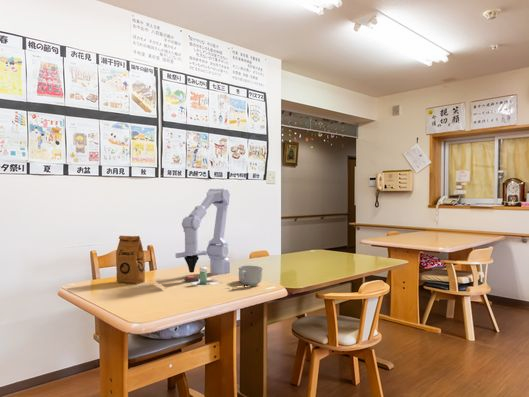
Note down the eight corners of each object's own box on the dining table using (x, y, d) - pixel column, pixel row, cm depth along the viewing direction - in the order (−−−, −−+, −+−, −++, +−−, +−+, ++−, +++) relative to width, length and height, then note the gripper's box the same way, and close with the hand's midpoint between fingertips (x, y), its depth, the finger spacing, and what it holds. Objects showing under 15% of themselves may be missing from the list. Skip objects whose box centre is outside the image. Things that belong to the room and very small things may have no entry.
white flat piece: (209, 279, 187) (209, 273, 187) (224, 285, 174) (224, 279, 174) (183, 283, 179) (183, 277, 179) (197, 289, 167) (197, 283, 167)
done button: (193, 279, 180) (193, 275, 180) (195, 280, 178) (195, 276, 178) (187, 280, 179) (187, 276, 179) (189, 281, 176) (189, 277, 176)
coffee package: (135, 285, 176) (134, 237, 175) (113, 283, 180) (112, 236, 180) (148, 281, 185) (148, 234, 185) (127, 279, 189) (127, 234, 189)
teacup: (248, 281, 184) (248, 264, 184) (267, 283, 177) (267, 266, 177) (229, 286, 172) (229, 268, 172) (248, 290, 166) (248, 271, 166)
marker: (205, 282, 175) (205, 266, 174) (208, 283, 172) (208, 268, 172) (198, 283, 173) (198, 267, 173) (201, 284, 170) (201, 268, 170)
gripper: (202, 240, 186) (202, 269, 186) (172, 242, 178) (173, 272, 178) (208, 242, 180) (208, 271, 180) (178, 244, 172) (178, 275, 172)
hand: (191, 272), depth 178 cm, fingers closed
